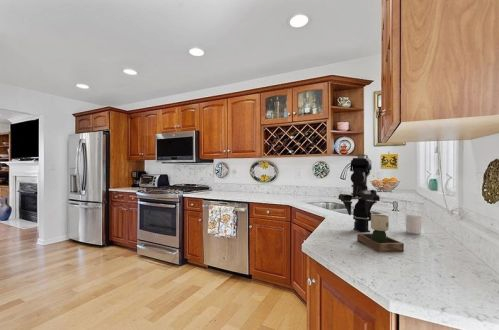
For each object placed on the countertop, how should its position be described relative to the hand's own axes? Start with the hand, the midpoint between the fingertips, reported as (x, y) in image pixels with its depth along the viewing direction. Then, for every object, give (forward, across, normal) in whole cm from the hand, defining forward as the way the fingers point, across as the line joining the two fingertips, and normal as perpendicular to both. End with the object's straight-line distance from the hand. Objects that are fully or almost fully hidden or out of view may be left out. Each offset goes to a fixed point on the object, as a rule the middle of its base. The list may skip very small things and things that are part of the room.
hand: (358, 215), depth 120 cm
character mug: (+11, +4, -10) cm, 16 cm away
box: (+12, +4, -10) cm, 16 cm away
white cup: (+12, +40, +11) cm, 43 cm away
